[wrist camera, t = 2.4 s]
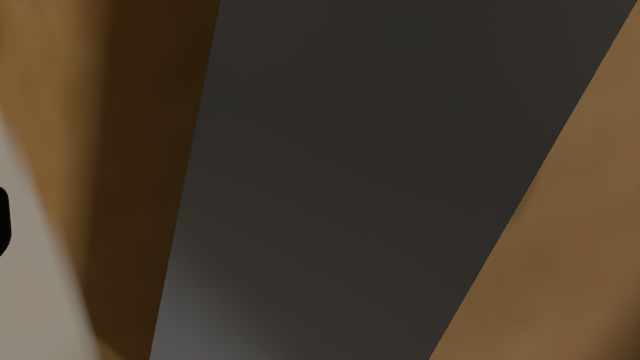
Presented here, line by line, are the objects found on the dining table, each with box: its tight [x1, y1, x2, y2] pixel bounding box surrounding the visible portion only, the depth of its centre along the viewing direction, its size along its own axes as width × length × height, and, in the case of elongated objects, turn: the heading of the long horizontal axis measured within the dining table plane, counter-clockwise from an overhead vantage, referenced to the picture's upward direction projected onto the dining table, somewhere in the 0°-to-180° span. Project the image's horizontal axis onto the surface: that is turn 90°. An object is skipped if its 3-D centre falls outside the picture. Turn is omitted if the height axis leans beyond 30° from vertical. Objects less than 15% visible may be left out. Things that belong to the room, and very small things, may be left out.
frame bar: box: [149, 0, 637, 360], centre depth 9 cm, size 14×3×4 cm, turn 163°
